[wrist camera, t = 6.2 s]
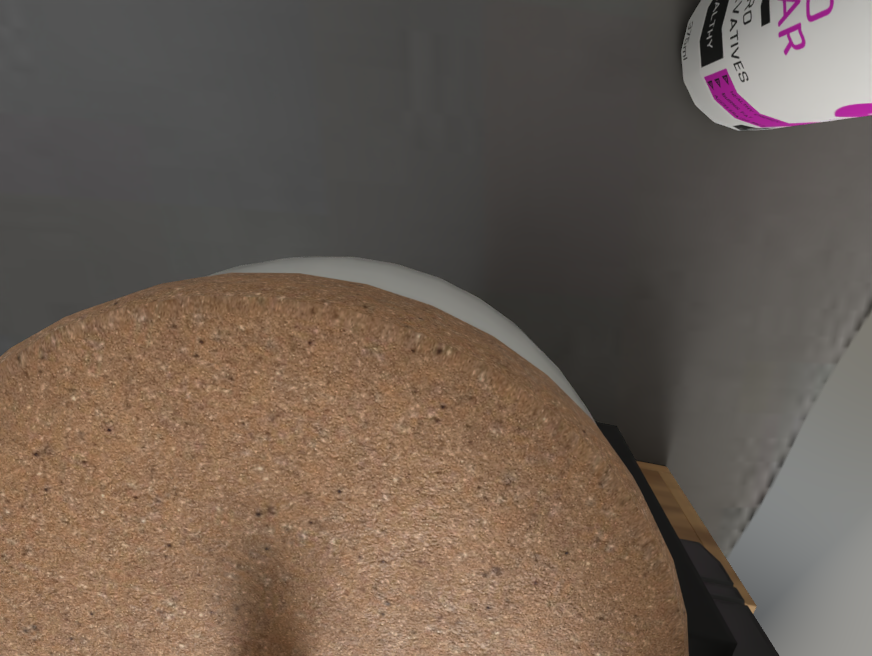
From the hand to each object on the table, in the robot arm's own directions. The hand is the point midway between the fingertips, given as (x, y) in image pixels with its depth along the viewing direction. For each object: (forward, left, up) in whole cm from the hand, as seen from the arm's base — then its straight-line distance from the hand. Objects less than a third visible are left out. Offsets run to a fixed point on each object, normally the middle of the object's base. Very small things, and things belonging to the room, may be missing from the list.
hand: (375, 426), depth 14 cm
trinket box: (0, 0, -1) cm, 1 cm away
